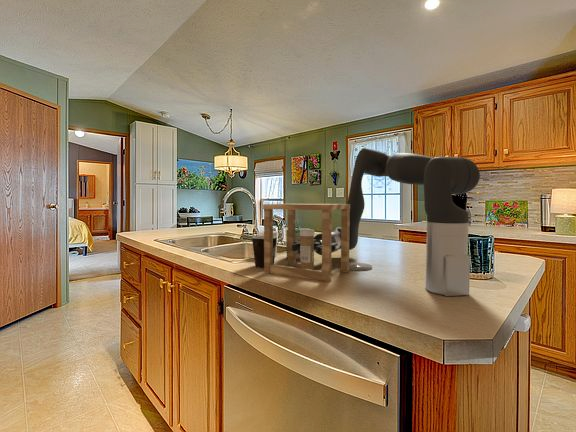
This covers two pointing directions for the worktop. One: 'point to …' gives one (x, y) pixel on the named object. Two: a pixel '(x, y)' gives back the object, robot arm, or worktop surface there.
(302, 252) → the sprinkles bottle
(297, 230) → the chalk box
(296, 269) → the oak shelf
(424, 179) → the robot arm
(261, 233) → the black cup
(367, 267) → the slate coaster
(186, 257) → the worktop surface
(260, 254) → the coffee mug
